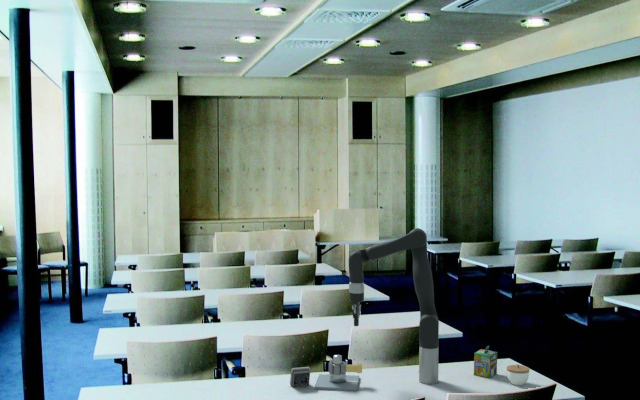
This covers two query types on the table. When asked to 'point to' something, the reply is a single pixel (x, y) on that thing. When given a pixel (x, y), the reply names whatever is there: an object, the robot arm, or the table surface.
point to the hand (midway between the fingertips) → (356, 325)
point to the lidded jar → (517, 374)
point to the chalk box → (485, 363)
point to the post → (337, 377)
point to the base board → (349, 385)
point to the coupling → (344, 368)
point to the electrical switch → (300, 377)
